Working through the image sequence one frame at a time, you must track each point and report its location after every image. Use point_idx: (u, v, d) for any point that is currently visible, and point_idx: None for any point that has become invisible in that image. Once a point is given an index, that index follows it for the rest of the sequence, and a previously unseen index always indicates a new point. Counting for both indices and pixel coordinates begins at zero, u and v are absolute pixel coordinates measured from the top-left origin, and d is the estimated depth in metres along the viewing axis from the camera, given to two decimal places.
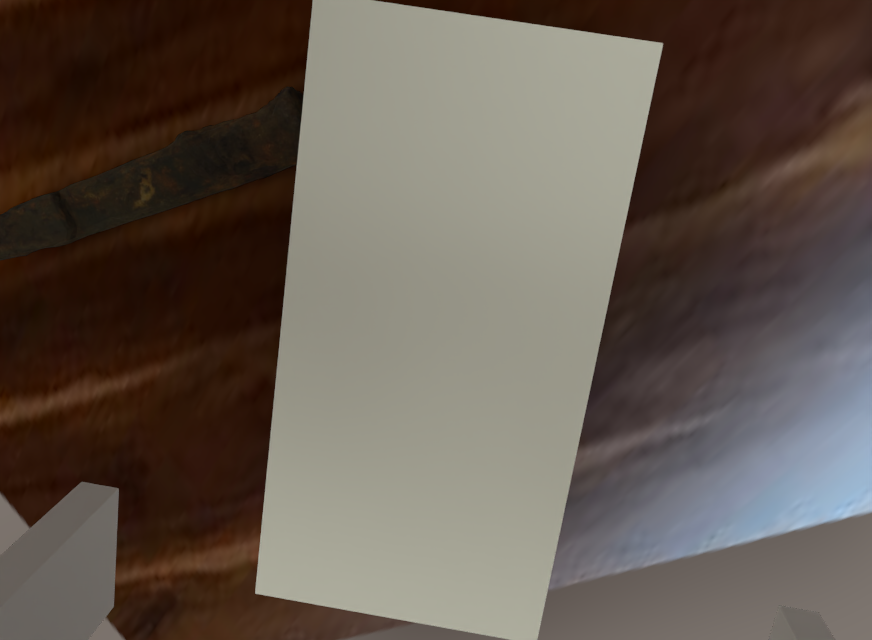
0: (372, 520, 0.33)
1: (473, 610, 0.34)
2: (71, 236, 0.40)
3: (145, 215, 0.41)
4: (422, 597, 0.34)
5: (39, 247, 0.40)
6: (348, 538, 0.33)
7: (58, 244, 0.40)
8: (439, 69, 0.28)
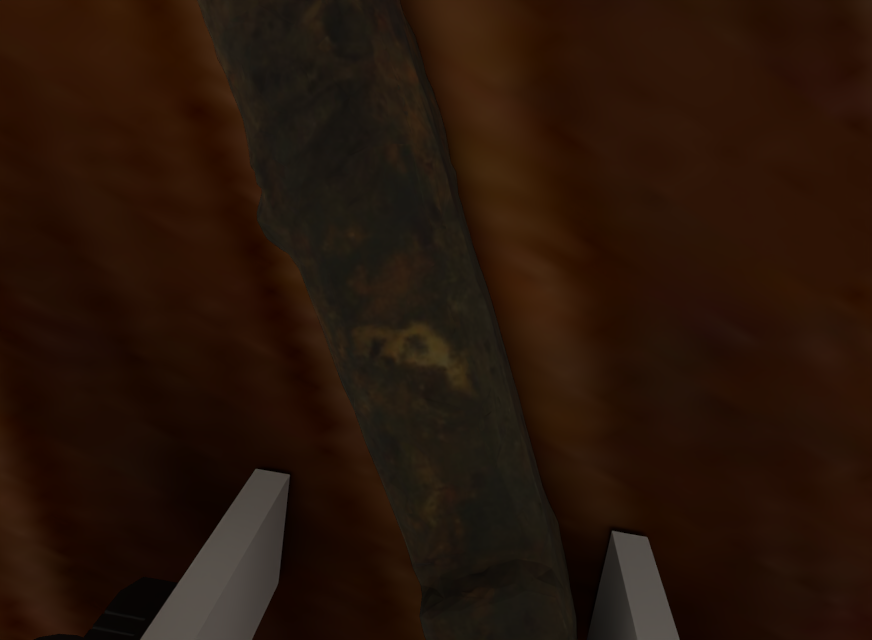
0: None
1: None
2: (546, 581, 0.14)
3: (498, 364, 0.14)
4: None
5: None
6: None
7: (566, 620, 0.14)
8: None
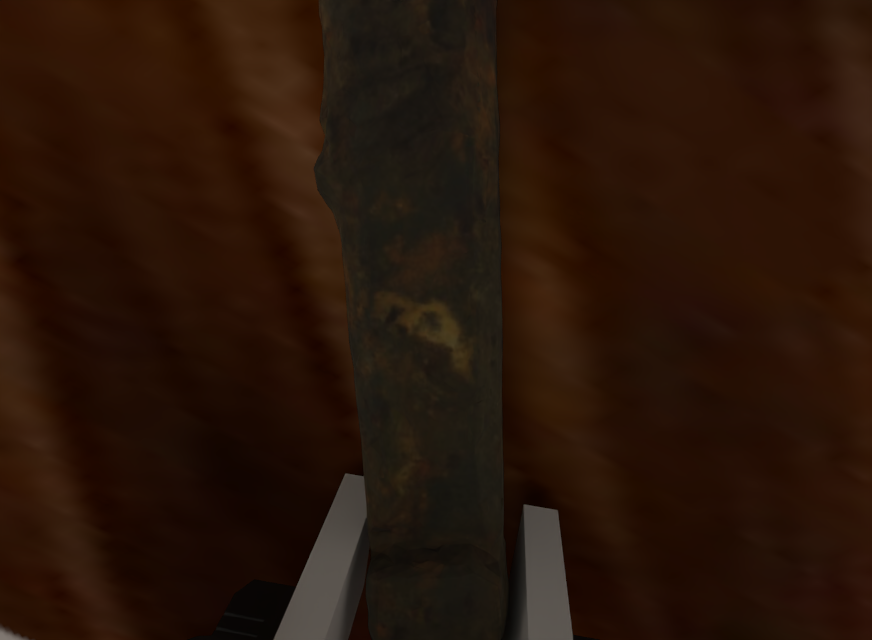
0: None
1: None
2: (492, 570, 0.15)
3: (498, 359, 0.15)
4: None
5: None
6: None
7: (502, 610, 0.14)
8: None
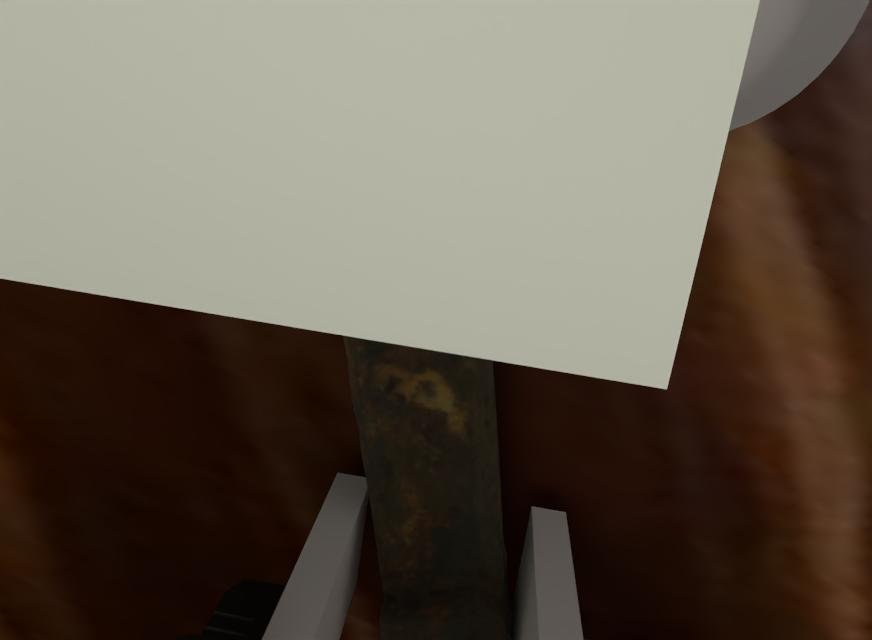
0: None
1: None
2: (494, 609, 0.16)
3: (491, 417, 0.16)
4: None
5: None
6: None
7: None
8: None
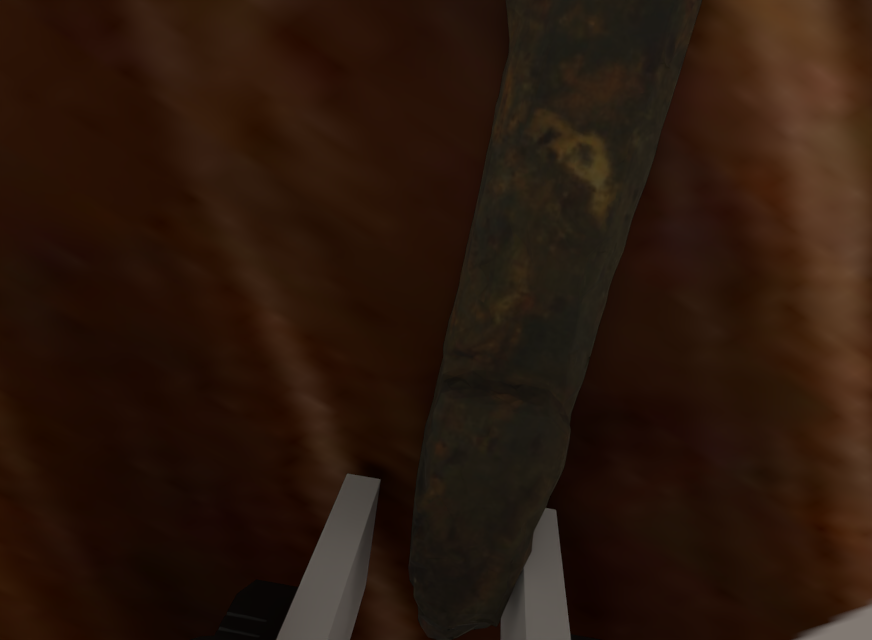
0: None
1: None
2: (564, 420, 0.14)
3: (631, 216, 0.14)
4: None
5: (542, 508, 0.14)
6: None
7: (563, 462, 0.14)
8: None
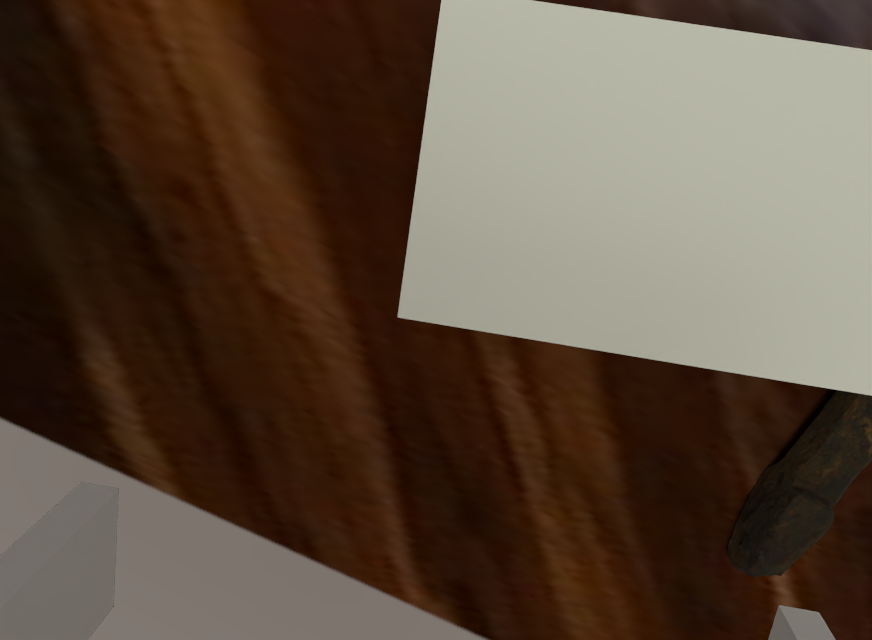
0: None
1: None
2: None
3: None
4: None
5: (816, 541, 0.42)
6: None
7: None
8: (464, 205, 0.30)
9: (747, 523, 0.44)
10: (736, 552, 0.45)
